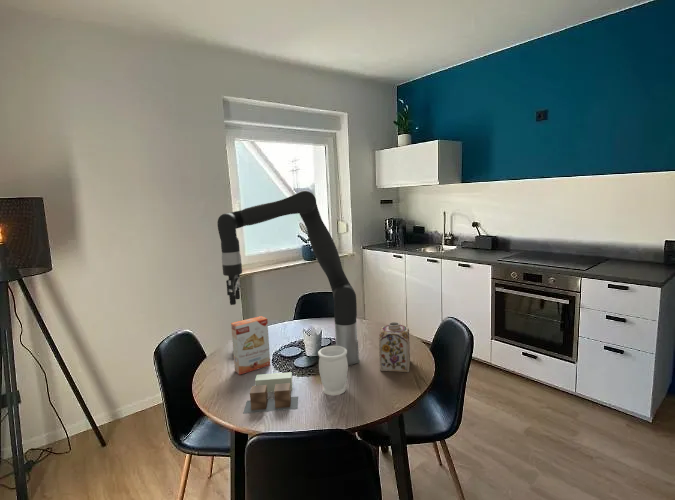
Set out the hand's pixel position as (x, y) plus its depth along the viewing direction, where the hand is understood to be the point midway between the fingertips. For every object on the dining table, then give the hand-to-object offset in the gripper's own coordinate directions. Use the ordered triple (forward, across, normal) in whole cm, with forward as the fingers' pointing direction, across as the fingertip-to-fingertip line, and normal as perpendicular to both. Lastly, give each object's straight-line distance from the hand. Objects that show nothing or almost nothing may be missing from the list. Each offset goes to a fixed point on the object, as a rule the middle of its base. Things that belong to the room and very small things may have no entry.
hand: (235, 301), depth 154 cm
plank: (+30, -20, -16) cm, 39 cm away
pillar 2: (+29, -31, -20) cm, 47 cm away
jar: (+30, -24, -38) cm, 54 cm away
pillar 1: (+29, -31, -12) cm, 44 cm away
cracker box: (+29, 0, -5) cm, 30 cm away
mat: (+29, -31, -16) cm, 45 cm away
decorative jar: (+30, -8, -64) cm, 71 cm away
